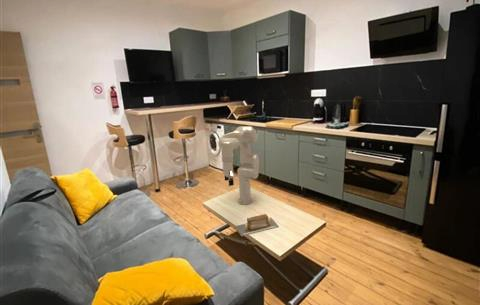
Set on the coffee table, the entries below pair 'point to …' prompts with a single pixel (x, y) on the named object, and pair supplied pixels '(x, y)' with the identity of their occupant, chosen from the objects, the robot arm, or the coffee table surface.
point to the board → (244, 229)
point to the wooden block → (257, 222)
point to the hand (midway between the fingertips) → (229, 182)
